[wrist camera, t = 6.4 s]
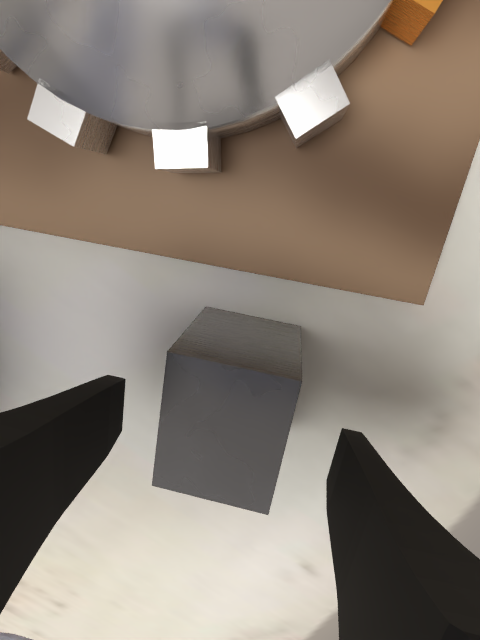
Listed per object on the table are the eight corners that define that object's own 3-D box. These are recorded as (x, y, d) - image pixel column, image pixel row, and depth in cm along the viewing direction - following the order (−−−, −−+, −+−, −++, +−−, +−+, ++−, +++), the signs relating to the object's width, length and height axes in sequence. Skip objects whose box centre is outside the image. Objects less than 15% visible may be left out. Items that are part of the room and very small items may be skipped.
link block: (276, 427, 17) (268, 514, 12) (191, 407, 17) (151, 485, 13) (300, 325, 15) (301, 381, 11) (206, 306, 16) (167, 351, 11)
